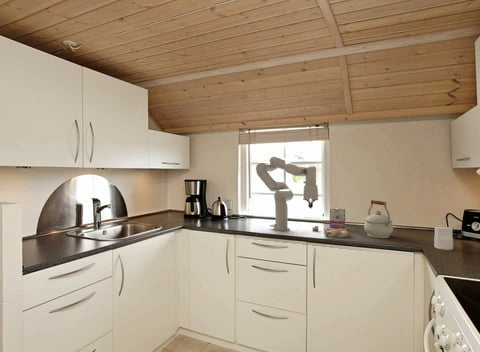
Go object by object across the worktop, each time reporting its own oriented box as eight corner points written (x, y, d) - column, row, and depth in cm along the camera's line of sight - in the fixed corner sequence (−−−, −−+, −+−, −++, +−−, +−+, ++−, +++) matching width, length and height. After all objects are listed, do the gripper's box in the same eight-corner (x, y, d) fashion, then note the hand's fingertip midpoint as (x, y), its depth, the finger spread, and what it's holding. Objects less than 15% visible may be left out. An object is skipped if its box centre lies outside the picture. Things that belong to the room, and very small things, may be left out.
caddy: (327, 236, 194) (327, 231, 194) (325, 232, 208) (325, 228, 208) (348, 237, 192) (348, 232, 192) (345, 233, 205) (345, 228, 205)
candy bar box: (345, 229, 223) (345, 208, 223) (344, 230, 219) (344, 209, 219) (331, 227, 228) (331, 207, 228) (329, 228, 224) (329, 208, 224)
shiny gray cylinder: (312, 231, 214) (312, 226, 214) (312, 230, 218) (312, 225, 218) (318, 231, 213) (318, 226, 213) (318, 230, 217) (318, 225, 217)
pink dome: (331, 233, 197) (331, 230, 197) (330, 231, 204) (330, 229, 204) (342, 233, 196) (342, 231, 196) (340, 231, 203) (340, 229, 203)
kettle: (401, 239, 188) (401, 202, 188) (376, 240, 185) (376, 202, 185) (377, 231, 213) (377, 198, 213) (355, 232, 210) (355, 199, 210)
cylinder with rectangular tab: (445, 245, 170) (445, 226, 170) (457, 249, 161) (457, 229, 161) (430, 245, 170) (430, 226, 170) (441, 249, 161) (441, 229, 161)
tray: (325, 235, 195) (325, 230, 195) (323, 231, 208) (323, 226, 208) (346, 236, 192) (346, 231, 192) (343, 232, 205) (343, 227, 205)
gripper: (300, 183, 202) (300, 208, 202) (321, 183, 198) (321, 209, 199) (300, 182, 209) (300, 207, 209) (321, 183, 206) (320, 207, 206)
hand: (310, 208), depth 204 cm, fingers closed
